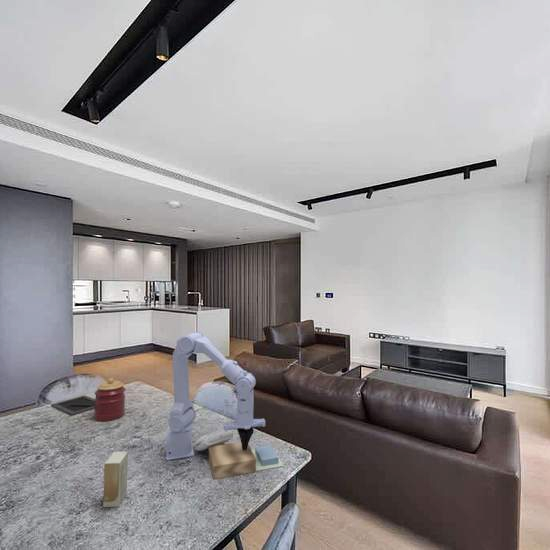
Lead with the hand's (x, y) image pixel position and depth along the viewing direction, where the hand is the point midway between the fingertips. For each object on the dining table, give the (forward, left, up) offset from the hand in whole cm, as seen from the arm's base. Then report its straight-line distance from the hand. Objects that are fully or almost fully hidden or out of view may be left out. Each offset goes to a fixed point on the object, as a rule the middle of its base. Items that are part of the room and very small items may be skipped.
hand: (244, 448), depth 110 cm
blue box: (+8, 0, -2) cm, 8 cm away
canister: (-52, +57, -5) cm, 77 cm away
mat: (+7, 0, -5) cm, 9 cm away
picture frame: (-69, +75, -5) cm, 102 cm away
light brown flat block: (-5, 0, -5) cm, 7 cm away
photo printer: (-3, +13, -1) cm, 13 cm away
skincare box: (-40, -8, -5) cm, 41 cm away
